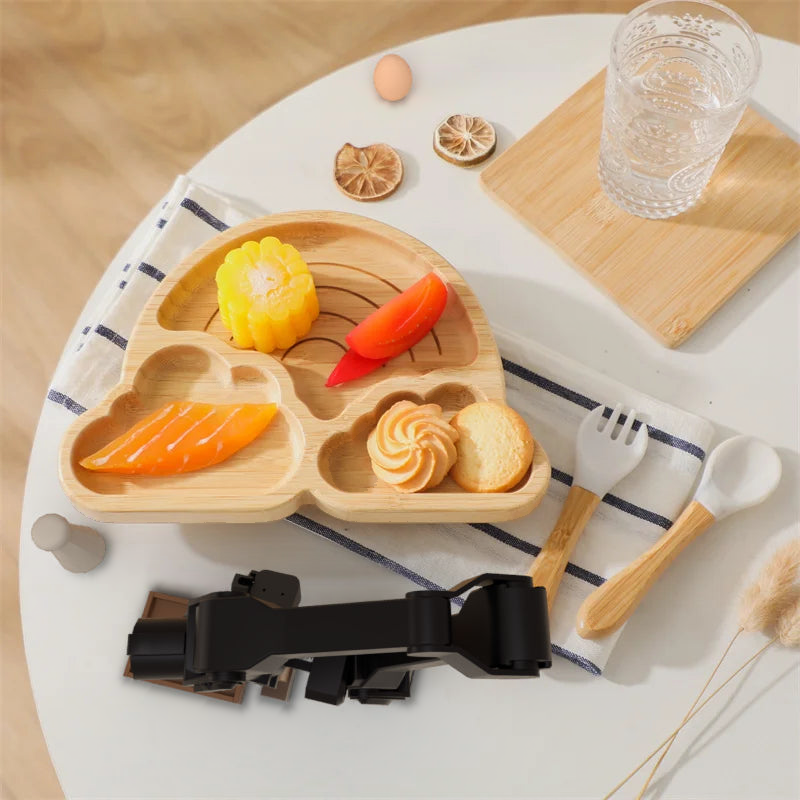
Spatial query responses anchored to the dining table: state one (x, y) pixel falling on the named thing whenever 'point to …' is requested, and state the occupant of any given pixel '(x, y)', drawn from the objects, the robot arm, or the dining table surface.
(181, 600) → the tray
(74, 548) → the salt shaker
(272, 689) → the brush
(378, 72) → the egg
